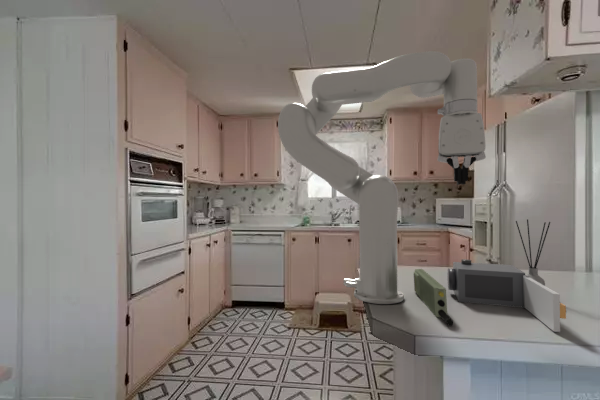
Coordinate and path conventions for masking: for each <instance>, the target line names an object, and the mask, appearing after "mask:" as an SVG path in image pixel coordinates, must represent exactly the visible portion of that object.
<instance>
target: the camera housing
mask: <svg viewBox="0 0 600 400" xmlns="http://www.w3.org/2000/svg"><path fill="white" fill-rule="evenodd" d="M452 264H453V265H452V268H447V279H446V280H447V288H448V290H449V291H453V293H454V295H455V297H456V299H457V301H458V302H461V303H462V302H463V303H473V304H483V305H494V306H505V307H506V306H507V307H513V308H514V307H516V308H517V307H518V308H525V307H524V306H523V275H526V272H524V271H523V270H521V269H519V268H517V267H516V266H514V265H513V264H503V263H501V264H500V263H498V264H497V263H479V262H472V260H471V259H465V258H464V259H461V261H453V262H452ZM525 309H526V308H525Z"/></svg>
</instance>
